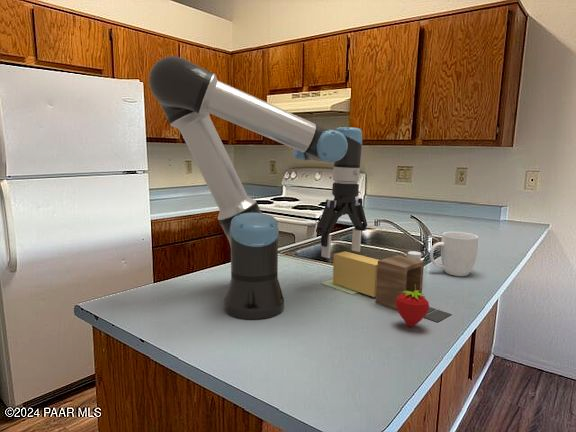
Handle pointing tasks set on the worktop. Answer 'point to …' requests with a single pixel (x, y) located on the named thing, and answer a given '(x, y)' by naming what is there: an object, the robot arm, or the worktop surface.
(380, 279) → the tunnel
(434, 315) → the dark grey flat pad
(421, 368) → the worktop surface
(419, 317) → the strawberry
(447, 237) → the mug
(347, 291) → the pad
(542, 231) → the worktop surface
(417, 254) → the pill bottle
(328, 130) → the robot arm
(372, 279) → the tan rectangular block
